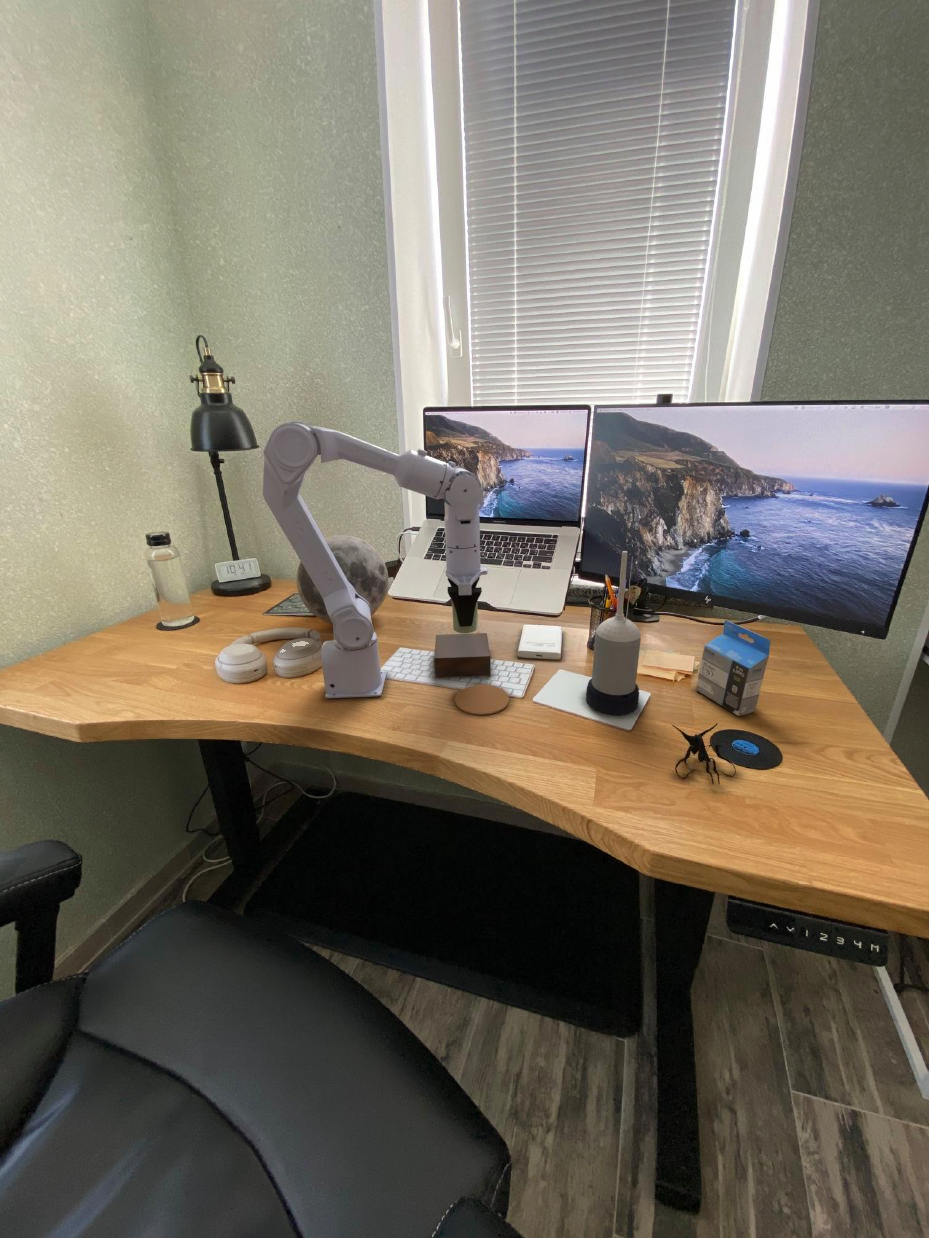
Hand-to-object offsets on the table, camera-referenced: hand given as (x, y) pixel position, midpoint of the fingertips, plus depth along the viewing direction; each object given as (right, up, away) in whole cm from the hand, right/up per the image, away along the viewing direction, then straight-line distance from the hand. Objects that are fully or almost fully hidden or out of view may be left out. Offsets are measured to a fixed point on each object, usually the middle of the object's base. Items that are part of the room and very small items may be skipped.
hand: (465, 620), depth 88 cm
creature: (+31, -20, -22) cm, 43 cm away
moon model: (-27, -1, +28) cm, 39 cm away
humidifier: (+24, -13, -7) cm, 28 cm away
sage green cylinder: (0, -1, +1) cm, 2 cm away
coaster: (+3, -13, -5) cm, 14 cm away
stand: (0, -8, +7) cm, 11 cm away
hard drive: (+15, -5, +14) cm, 21 cm away
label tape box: (+42, -13, -7) cm, 44 cm away
